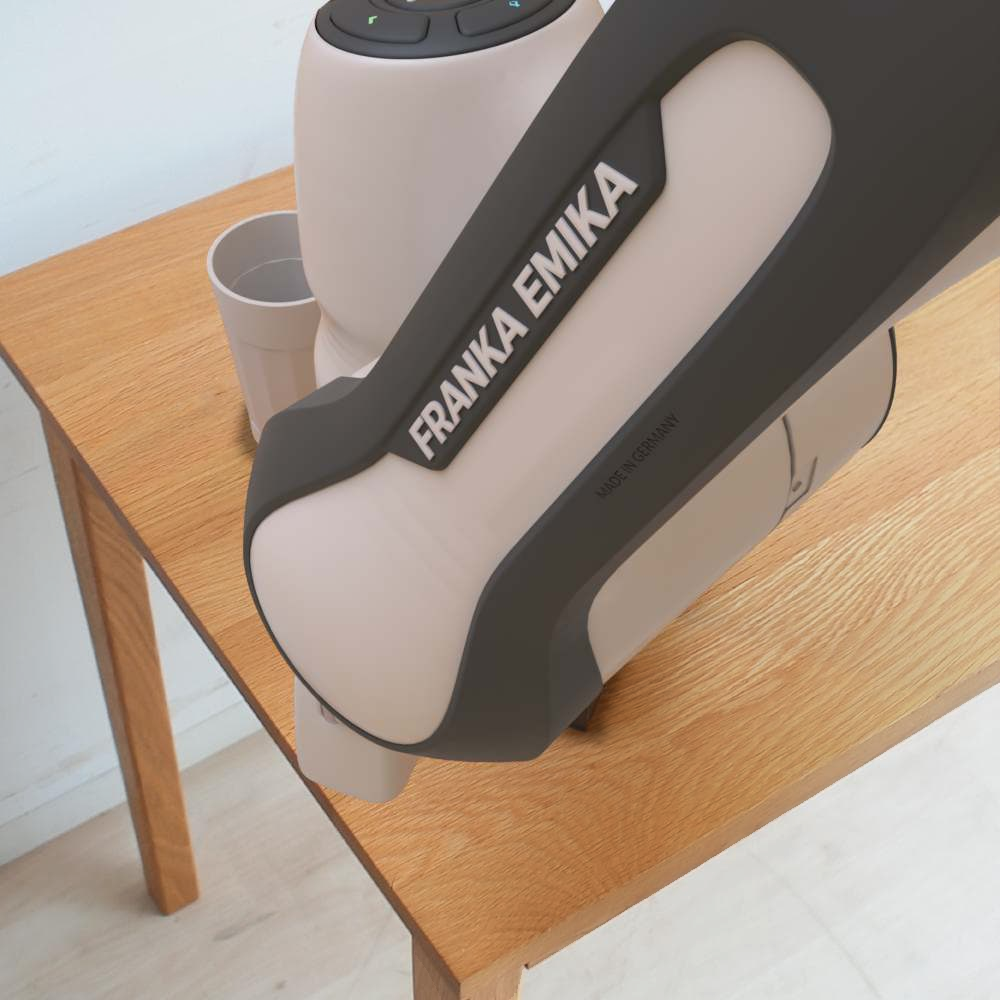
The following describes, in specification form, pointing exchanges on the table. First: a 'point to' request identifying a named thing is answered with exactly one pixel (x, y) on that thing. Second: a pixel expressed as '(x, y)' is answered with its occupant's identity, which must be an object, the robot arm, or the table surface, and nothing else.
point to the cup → (266, 311)
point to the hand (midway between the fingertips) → (456, 660)
